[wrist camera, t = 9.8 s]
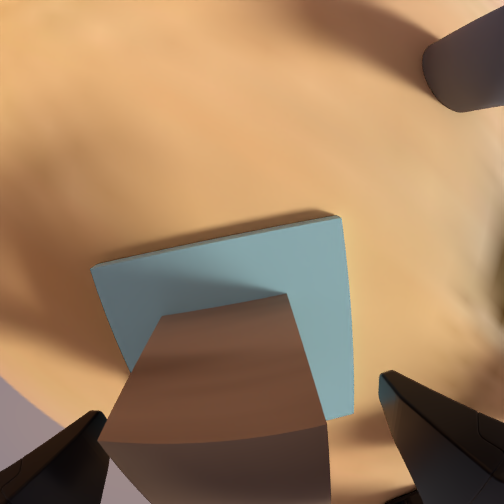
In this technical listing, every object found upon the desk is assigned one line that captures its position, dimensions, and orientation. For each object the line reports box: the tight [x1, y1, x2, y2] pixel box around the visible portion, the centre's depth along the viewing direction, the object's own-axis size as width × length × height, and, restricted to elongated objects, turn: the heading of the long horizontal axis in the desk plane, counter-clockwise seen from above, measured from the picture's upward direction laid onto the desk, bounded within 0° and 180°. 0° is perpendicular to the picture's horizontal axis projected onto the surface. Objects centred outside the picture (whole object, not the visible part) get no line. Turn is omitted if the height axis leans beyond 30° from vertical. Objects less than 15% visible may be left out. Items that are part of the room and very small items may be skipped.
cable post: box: [422, 6, 504, 112], centre depth 6 cm, size 3×3×5 cm
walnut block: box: [97, 294, 331, 504], centre depth 8 cm, size 4×4×6 cm
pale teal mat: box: [90, 215, 354, 420], centre depth 11 cm, size 9×9×1 cm
